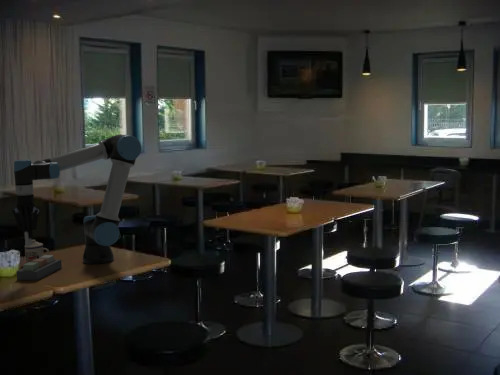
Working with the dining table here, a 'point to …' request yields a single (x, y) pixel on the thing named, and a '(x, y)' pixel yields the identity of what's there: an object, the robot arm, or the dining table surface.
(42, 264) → the terracotta button
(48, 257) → the white button
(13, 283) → the dining table surface
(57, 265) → the button panel
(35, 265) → the green button
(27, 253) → the teacup with lid
